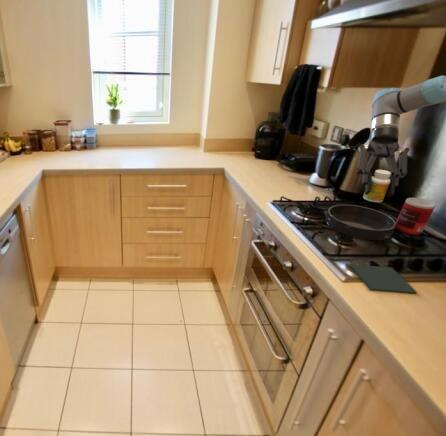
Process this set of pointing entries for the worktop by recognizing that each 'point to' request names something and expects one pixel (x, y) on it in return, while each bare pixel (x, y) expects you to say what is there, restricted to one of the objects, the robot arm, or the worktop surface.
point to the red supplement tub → (414, 216)
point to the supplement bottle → (378, 186)
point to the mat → (382, 279)
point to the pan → (360, 222)
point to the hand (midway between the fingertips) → (378, 194)
